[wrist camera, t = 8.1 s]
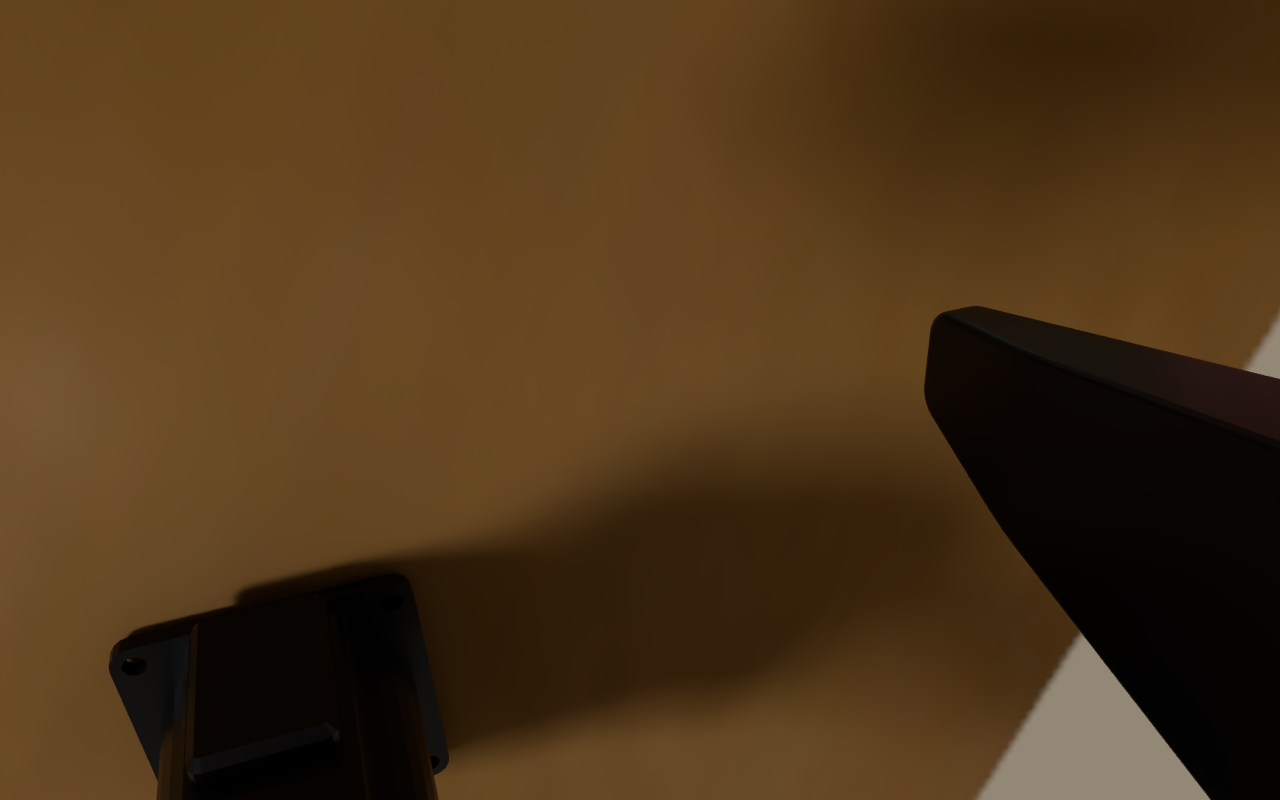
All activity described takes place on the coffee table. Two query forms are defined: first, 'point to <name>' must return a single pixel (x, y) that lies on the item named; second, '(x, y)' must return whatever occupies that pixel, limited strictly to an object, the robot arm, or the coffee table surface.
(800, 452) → the coffee table surface
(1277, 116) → the coffee table surface
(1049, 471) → the robot arm
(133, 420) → the coffee table surface
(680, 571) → the coffee table surface
